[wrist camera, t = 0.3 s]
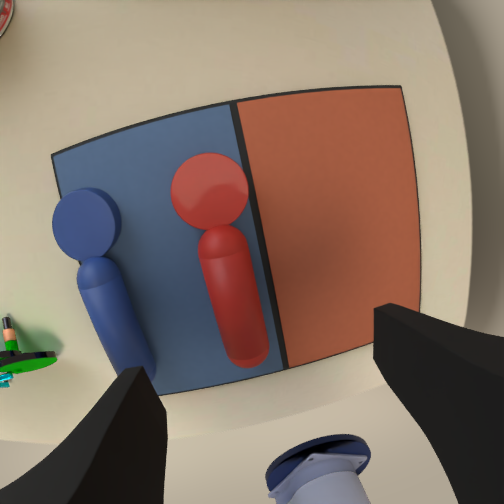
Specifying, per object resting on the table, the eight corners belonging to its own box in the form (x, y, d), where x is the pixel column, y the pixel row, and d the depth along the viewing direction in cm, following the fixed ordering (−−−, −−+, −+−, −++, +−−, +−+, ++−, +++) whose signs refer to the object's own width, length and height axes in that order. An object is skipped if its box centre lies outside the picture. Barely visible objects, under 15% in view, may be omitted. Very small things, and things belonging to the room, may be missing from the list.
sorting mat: (416, 322, 20) (420, 325, 20) (139, 395, 19) (138, 399, 18) (397, 86, 15) (402, 85, 15) (53, 154, 14) (49, 154, 13)
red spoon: (165, 163, 15) (158, 163, 12) (237, 146, 15) (243, 143, 13) (219, 358, 18) (221, 383, 16) (278, 344, 18) (287, 367, 16)
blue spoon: (54, 198, 14) (32, 205, 12) (112, 178, 14) (96, 182, 12) (121, 375, 18) (113, 400, 15) (173, 367, 18) (170, 393, 15)
